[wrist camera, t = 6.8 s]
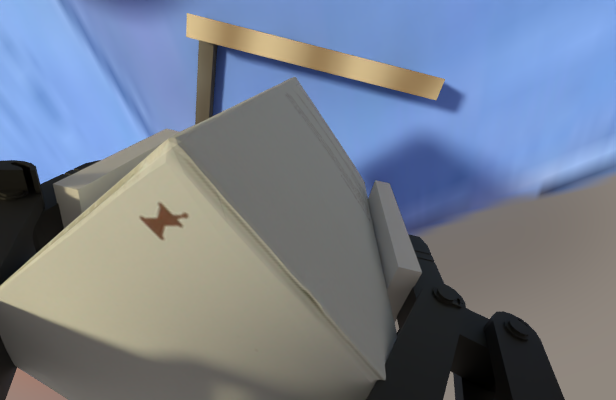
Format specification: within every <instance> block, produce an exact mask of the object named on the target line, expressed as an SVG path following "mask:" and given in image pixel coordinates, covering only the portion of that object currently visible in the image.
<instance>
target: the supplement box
mask: <svg viewBox="0 0 616 400" xmlns="http://www.w3.org/2000/svg"><path fill="white" fill-rule="evenodd" d="M0 336H1V338H2V341H3V343H4V346H5V348H6V350H7V352H8V354H9V356H10V358H11V360H12V362H13V363H14V365H15V366H16V367H18V368H19V369H21V370H23V371H24V372H26V373H27V374H29V375H30V376H32V377H34V378H35V379H37V380H38V381H40V382H41V383H43V384H45V385H46V386H48V387H49V388H51V389H53V390H54V391H56V392H57V393H59V394H60V395H62V396H63V397H65V398H67V399H68V400H366V398H367V397H368V395H369V393H370V392H371V390H372V388H373V386H374V385H375V383H376V381H377V380H386V372H385V363H386V361H387V359H388V356H389V354H390V352H391V350H392V347H393V345H394V343H395V341H396V338H397V333H396V329H395V323H394V318H393V314H392V309H391V304H390V300H389V295H388V291H387V286H386V281H385V277H384V272H383V268H382V263H381V259H380V254H379V250H378V245H377V240H376V236H375V231H374V226H373V222H372V217H371V212H370V208H369V203H368V197H367V192H366V187H365V182H364V180H363V179H362V177H361V175H360V174H359V172H358V171H357V169H356V167H355V166H354V164H353V163H352V161H351V160H350V158H349V157H348V155H347V153H346V152H345V150H344V149H343V147H342V146H341V144H340V143H339V141H338V140H337V138H336V137H335V135H334V134H333V132H332V131H331V129H330V128H329V126H328V125H327V123H326V122H325V120H324V119H323V117H322V116H321V114H320V113H319V111H318V110H317V108H316V107H315V105H314V104H313V102H312V101H311V99H310V98H309V96H308V95H307V93H306V92H305V90H304V89H303V88H302V86H301V85H300V83H299V81H298V80H297V78H296V77H293V78H290V79H288V80H286V81H284V82H282V83H280V84H278V85H276V86H274V87H272V88H270V89H268V90H266V91H264V92H262V93H260V94H258V95H256V96H254V97H252V98H250V99H248V100H245V101H243V102H241V103H239V104H237V105H235V106H233V107H231V108H229V109H227V110H225V111H223V112H221V113H219V114H216V115H214V116H212V117H211V118H209V119H207V120H204V121H202V122H200V123H198V124H196V125H194V126H192V127H189V128H187V129H185V130H183V131H181V132H178V133H176V134H175V135H173V136H171V137H170V138H168V139H167V140H166V141H165V142H163V143H162V144H161V145H160V146H159V147H157V148H156V149H155V150H154V151H153V152H152V153H151V154H149V155H148V156H147V157H146V158H145V159H144V160H143V161H141V162H140V163H139V164H138V165H137V166H136V167H135V168H133V169H132V170H131V171H130V172H129V173H128V174H127V175H125V176H124V177H123V178H122V179H121V180H120V181H119V182H117V183H116V184H115V185H114V186H113V187H112V188H111V189H109V190H108V191H107V192H106V193H105V194H104V195H102V196H101V197H100V198H99V199H98V200H97V201H96V202H94V203H93V204H92V205H91V206H90V207H89V208H87V209H86V210H85V211H84V212H83V213H82V214H81V215H79V216H78V217H77V218H76V219H75V220H74V221H73V222H71V223H70V224H69V225H68V226H67V227H66V228H65V229H64V230H62V231H61V232H60V233H59V234H58V235H57V236H56V237H54V238H53V239H52V240H51V241H50V242H49V243H48V244H47V245H45V246H44V247H43V248H42V249H41V250H40V251H39V252H37V253H36V254H35V255H34V256H33V257H32V258H31V259H30V260H28V261H27V262H26V263H25V264H24V265H23V266H22V267H21V268H19V269H18V270H17V271H16V272H15V273H14V274H13V275H12V276H11V277H9V278H8V279H7V280H6V281H5V282H4V283H3V284H2V285H0Z"/></svg>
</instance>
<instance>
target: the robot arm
mask: <svg viewBox="0 0 616 400" xmlns="http://www.w3.org/2000/svg"><path fill="white" fill-rule="evenodd" d="M176 133H178V131H174V130H170V129H165V130H163V131H161V132H159V133H156V134H154V135H152V136H150V137H148V138H146V139H144V140H142V141H140V142H138V143H136V144H134V145H132V146H130V147H128V148H126V149H124V150H121V151H119V152H117V153H115V154H113V155H111V156H109V157H107V158H105V159H103V160H99V161H94V162H90V163H85V164H83V165H81V166H79V167H77V168H74V170H70V171H68V172H66V173H65V174H62V175H59V176H57V177H55V178H53V179H51V180H49V181H47V182H44V183H42V184H40V182H39V178H38V174H37V170H36V166H34V165H33V164H32V163H28V162H25V161H15V160H10V161H0V285H2V284H3V283H4V282H5V281H6V280H7V279H8V278H9V277H11V276H12V275H13V274H14V273H15V272H16V271H17V270H18V269H19V268H21V267H22V266H23V265H24V264H25V263H26V262H27V261H28V260H30V259H31V258H32V257H33V256H34V255H35V254H36V253H37V252H39V251H40V250H41V249H42V248H43V247H44V246H45V245H47V244H48V243H49V242H50V241H51V240H52V239H53V238H54V237H56V236H57V235H58V234H59V233H60V232H61V231H62V230H64V229H65V228H66V227H67V226H68V225H69V224H70V223H71V222H73V221H74V220H75V219H76V218H77V217H78V216H79V215H81V214H82V213H83V212H84V211H85V210H86V209H87V208H89V207H90V206H91V205H92V204H93V203H94V202H96V201H97V200H98V199H99V198H100V197H101V196H102V195H104V194H105V193H106V192H107V191H108V190H109V189H111V188H112V187H113V186H114V185H115V184H116V183H117V182H119V181H120V180H121V179H122V178H123V177H124V176H125V175H127V174H128V173H129V172H130V171H131V170H132V169H133V168H135V167H136V166H137V165H138V164H139V163H140V162H141V161H143V160H144V159H145V158H146V157H147V156H148V155H149V154H151V153H152V152H153V151H154V150H155V149H156V148H157V147H159V146H160V145H161V144H162V143H163V142H165V141H166V140H167V139H168V138H170V137H171V136H173V135H175V134H176ZM368 203H369V208H370V212H371V217H372V222H373V226H374V231H375V236H376V240H377V245H378V250H379V254H380V259H381V263H382V268H383V272H384V277H385V281H386V286H387V291H388V295H389V300H390V304H391V309H392V314H393V318H394V323H395V321H396V319H397V320H398V325H399V330H398V332H397V338H396V341H395V343H394V345H393V347H392V350H391V352H390V354H389V356H388V359H387V361H386V363H385V372H386V380H377V381H376V383H375V385H374V386H373V388H372V390H371V392H370V393H369V395H368V397H367V398H366V400H443V397H444V393H445V389H446V385H447V381H448V378H449V374H450V371H451V372H453V374H454V387H455V400H565V399H564V397H563V394H562V392H561V389H560V387H559V384H558V382H557V379H556V377H555V375H554V372H553V370H552V367H551V365H550V362H549V360H548V357H547V355H546V352H545V350H544V347H543V345H542V342H541V340H540V338H539V337H538V335H537V333H536V332H535V331H534V330H533V329H532V328H531V327H530V326H529V325H528V324H527V323H526V322H524V321H523V320H522V319H520V318H518V317H516V316H514V315H512V314H510V313H506V312H496V313H495V314H494V315H493V316H492V317H491V318H490V319H488V318H485V317H483V316H481V315H479V314H477V313H475V312H472V311H470V310H469V309H467V308H466V306H465V302H464V300H463V298H462V297H461V296H460V295H459V294H458V293H457V292H456V291H455V290H454V289H452V288H451V287H449V286H447V285H445V284H444V282H443V280H442V278H441V275H440V273H439V271H438V269H437V266H436V264H435V263H434V260H433V257H432V256H431V253H430V250H429V248H428V246H427V245H426V244H425V243H424V241H423V240H422V239H421V238H420V237H417V236H413V235H409V234H408V232H407V230H406V227H405V224H404V221H403V219H402V216H401V213H400V210H399V208H398V205H397V202H396V199H395V197H394V194H393V191H392V188H391V186H390V184H389V183H385V182H381V181H377V180H375V182H374V185H373V188H372V190H371V193H370V196H369V198H368ZM16 369H17V367H16V366H15V365H14V363H13V362H12V360H11V358H10V356H9V354H8V352H7V350H6V348H5V346H4V343H3V341H2V338H1V336H0V400H5V399H6V396H7V393H8V391H9V388H10V385H11V383H12V380H13V377H14V374H15V372H16Z"/></svg>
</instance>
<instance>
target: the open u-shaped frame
mask: <svg viewBox="0 0 616 400" xmlns="http://www.w3.org/2000/svg"><path fill="white" fill-rule="evenodd" d="M186 37H189V38H193V39H197V40H199V53H198V76H197V99H196V122H195V125H196V124H198V123H200V122H202V121H204V120H207V119H209V118H211V117H212V114H213V99H214V85H215V71H216V56H217V45H220V46H224V47H228V48H232V49H236V50H240V51H244V52H248V53H252V54H256V55H260V56H264V57H268V58H272V59H275V60H279V61H283V62H287V63H291V64H295V65H299V66H303V67H307V68H311V69H315V70H319V71H323V72H327V73H331V74H334V75H338V76H342V77H346V78H350V79H354V80H358V81H362V82H366V83H370V84H374V85H378V86H382V87H386V88H390V89H393V90H397V91H401V92H405V93H409V94H413V95H417V96H421V97H425V98H429V99H433V100H437V97H438V95H439V93H440V90H441V88H442V85H443V83H444V81H445V79H442V78H438V77H435V76H431V75H427V74H423V73H419V72H415V71H411V70H407V69H403V68H400V67H396V66H392V65H388V64H384V63H380V62H376V61H372V60H368V59H364V58H360V57H357V56H353V55H349V54H345V53H341V52H337V51H333V50H329V49H325V48H321V47H317V46H314V45H310V44H306V43H302V42H298V41H294V40H290V39H286V38H282V37H278V36H274V35H271V34H267V33H263V32H259V31H255V30H251V29H247V28H243V27H239V26H235V25H231V24H228V23H224V22H220V21H216V20H212V19H208V18H204V17H200V16H196V15H192V14H188V13H187V34H186Z"/></svg>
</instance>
